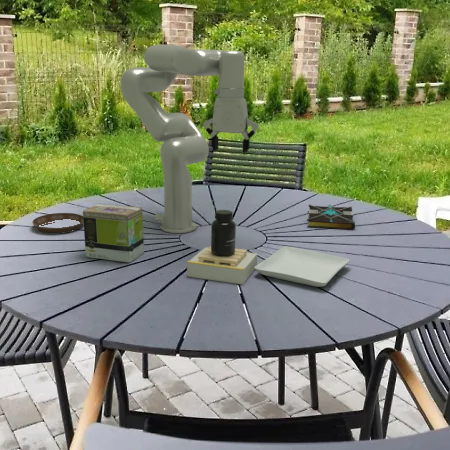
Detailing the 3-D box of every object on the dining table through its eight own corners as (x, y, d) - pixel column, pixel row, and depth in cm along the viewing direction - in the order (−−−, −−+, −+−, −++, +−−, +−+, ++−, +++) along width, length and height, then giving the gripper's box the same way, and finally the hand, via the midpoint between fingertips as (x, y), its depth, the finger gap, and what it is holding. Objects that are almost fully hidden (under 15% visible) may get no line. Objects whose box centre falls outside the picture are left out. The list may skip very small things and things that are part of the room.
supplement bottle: (232, 258, 157) (233, 216, 154) (208, 256, 159) (208, 214, 155) (237, 250, 164) (238, 209, 160) (213, 248, 165) (214, 207, 162)
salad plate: (325, 294, 149) (325, 282, 148) (252, 278, 159) (252, 266, 158) (350, 269, 167) (351, 258, 166) (283, 255, 177) (284, 245, 176)
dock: (187, 276, 159) (187, 257, 157) (205, 259, 172) (205, 242, 170) (242, 284, 154) (242, 265, 152) (256, 266, 167) (257, 248, 165)
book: (354, 231, 201) (355, 218, 200) (306, 229, 204) (307, 215, 202) (351, 215, 222) (352, 202, 220) (307, 212, 224) (308, 200, 223)
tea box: (145, 253, 177) (143, 206, 172) (129, 264, 168) (127, 215, 163) (102, 247, 181) (99, 201, 177) (84, 257, 172) (81, 210, 168)
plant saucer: (89, 232, 196) (88, 224, 195) (35, 238, 190) (34, 229, 189) (81, 218, 212) (81, 210, 211) (31, 223, 205) (30, 215, 204)
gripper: (199, 93, 171) (199, 151, 176) (255, 96, 165) (253, 154, 170) (208, 92, 178) (208, 147, 183) (262, 94, 172) (260, 151, 177)
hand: (230, 150), depth 176 cm, fingers open, 9 cm apart
